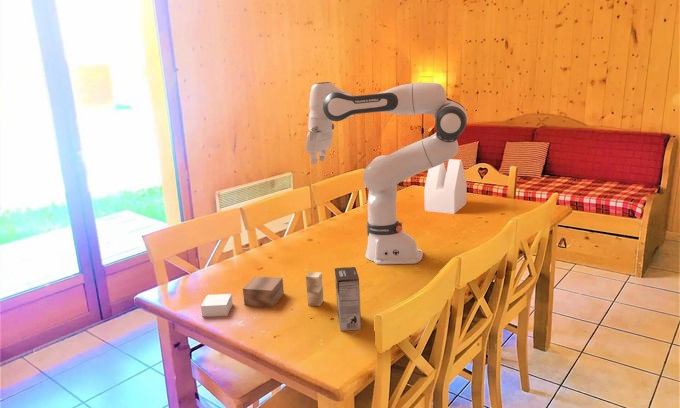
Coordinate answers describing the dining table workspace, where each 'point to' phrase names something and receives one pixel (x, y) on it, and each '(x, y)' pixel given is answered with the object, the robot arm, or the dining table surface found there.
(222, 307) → the white square block
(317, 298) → the oak pillar
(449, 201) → the white notched block
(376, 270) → the dining table surface
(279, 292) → the walnut block
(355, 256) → the dining table surface
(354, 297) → the coffee box
